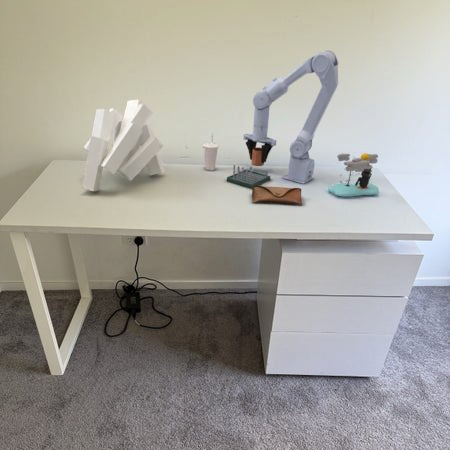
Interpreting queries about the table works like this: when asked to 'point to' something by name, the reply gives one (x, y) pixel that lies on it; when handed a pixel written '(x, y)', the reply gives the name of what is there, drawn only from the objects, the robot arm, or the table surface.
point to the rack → (248, 178)
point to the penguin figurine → (363, 182)
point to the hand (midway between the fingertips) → (257, 160)
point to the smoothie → (210, 154)
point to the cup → (257, 157)
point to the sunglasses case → (276, 195)
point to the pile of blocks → (122, 145)
